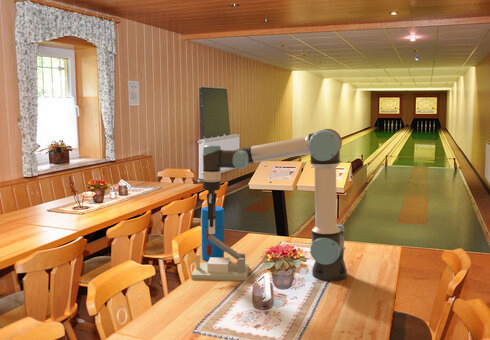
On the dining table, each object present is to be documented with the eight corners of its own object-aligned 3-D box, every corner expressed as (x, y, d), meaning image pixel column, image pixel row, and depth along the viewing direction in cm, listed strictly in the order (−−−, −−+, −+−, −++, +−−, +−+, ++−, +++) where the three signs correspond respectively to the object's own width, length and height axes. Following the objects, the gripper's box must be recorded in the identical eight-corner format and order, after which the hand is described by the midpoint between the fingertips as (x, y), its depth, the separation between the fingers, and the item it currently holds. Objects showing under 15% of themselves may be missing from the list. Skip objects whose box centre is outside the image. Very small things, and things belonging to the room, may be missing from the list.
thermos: (198, 261, 232) (198, 210, 229) (205, 254, 243) (205, 205, 239) (220, 263, 230) (220, 211, 226) (226, 256, 240) (226, 206, 237)
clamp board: (248, 267, 223) (248, 250, 222) (247, 280, 208) (247, 261, 207) (197, 266, 225) (196, 249, 224) (191, 279, 209) (191, 260, 208)
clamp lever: (242, 260, 217) (244, 257, 217) (241, 263, 213) (244, 260, 213) (208, 236, 217) (210, 233, 216) (207, 239, 212) (209, 235, 212)
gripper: (205, 178, 217) (205, 229, 221) (201, 182, 205) (201, 237, 208) (221, 178, 217) (221, 229, 220) (218, 183, 204) (218, 237, 207)
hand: (211, 233), depth 214 cm, fingers closed
